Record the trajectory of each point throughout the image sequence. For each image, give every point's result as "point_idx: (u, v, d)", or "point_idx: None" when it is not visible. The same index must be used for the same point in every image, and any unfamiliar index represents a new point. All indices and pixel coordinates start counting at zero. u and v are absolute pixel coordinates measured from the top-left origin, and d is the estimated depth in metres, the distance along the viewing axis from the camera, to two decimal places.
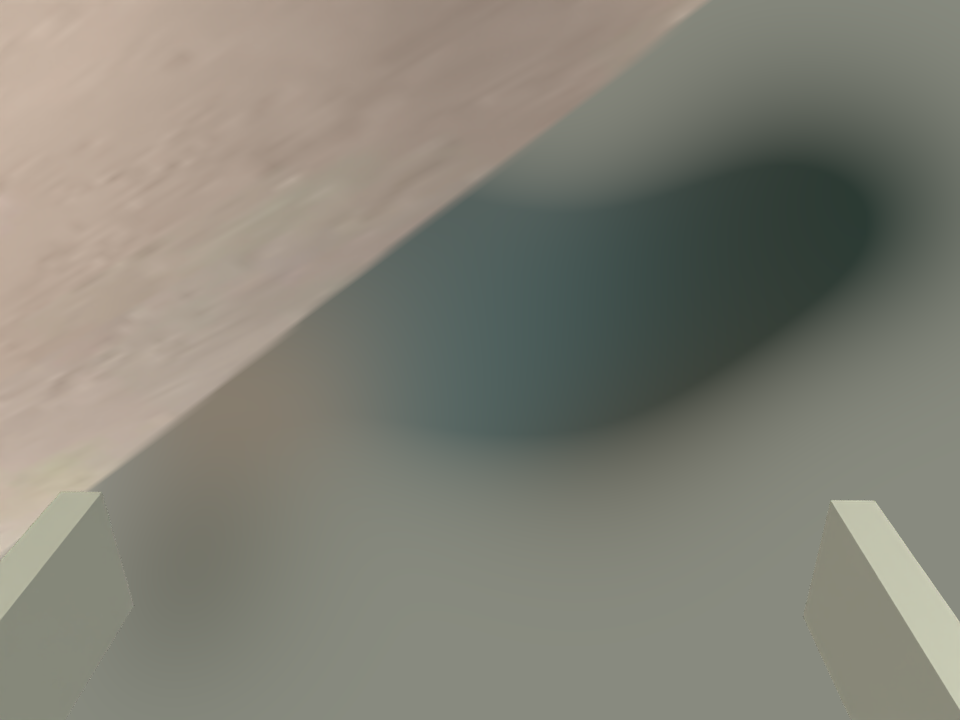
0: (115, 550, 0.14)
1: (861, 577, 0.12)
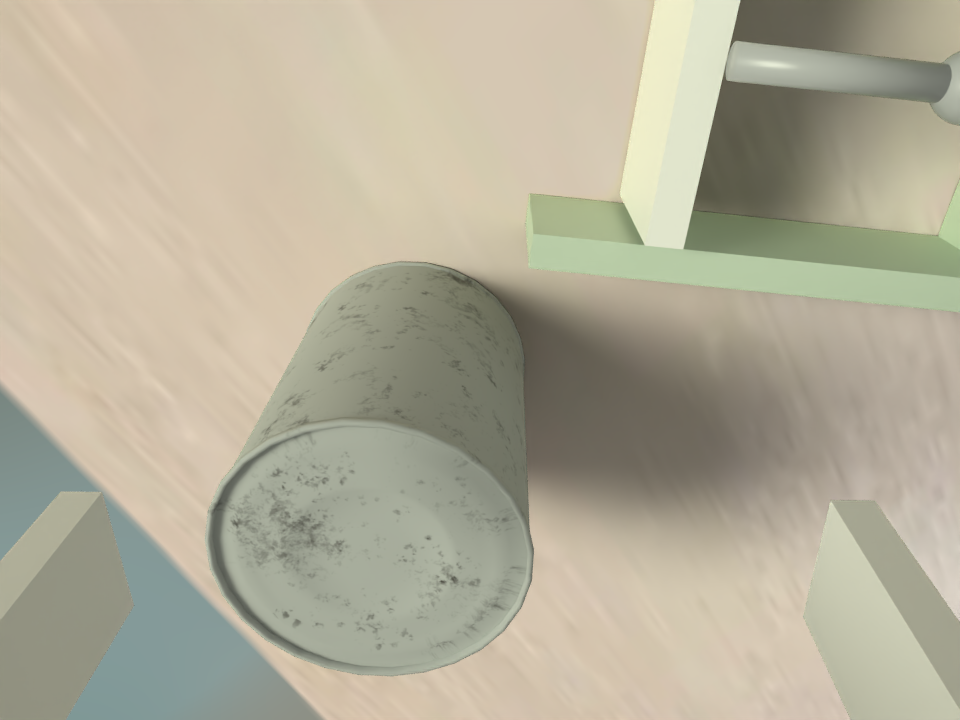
0: (115, 549, 0.14)
1: (861, 577, 0.12)
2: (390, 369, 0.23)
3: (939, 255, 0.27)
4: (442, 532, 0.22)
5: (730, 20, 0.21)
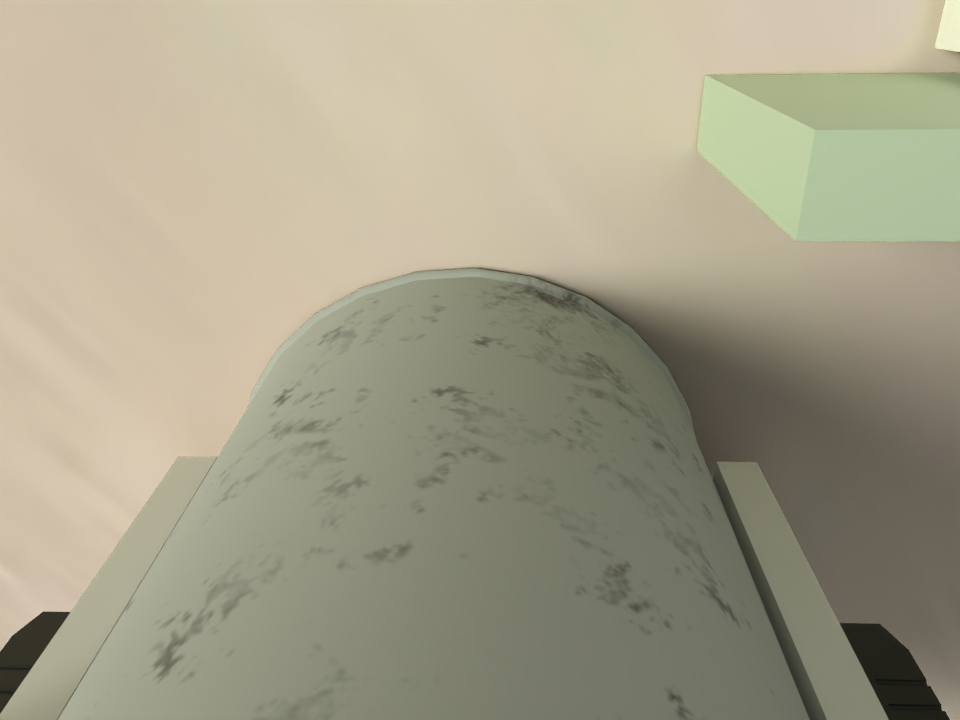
0: None
1: (735, 528, 0.13)
2: (399, 682, 0.06)
3: None
4: None
5: None
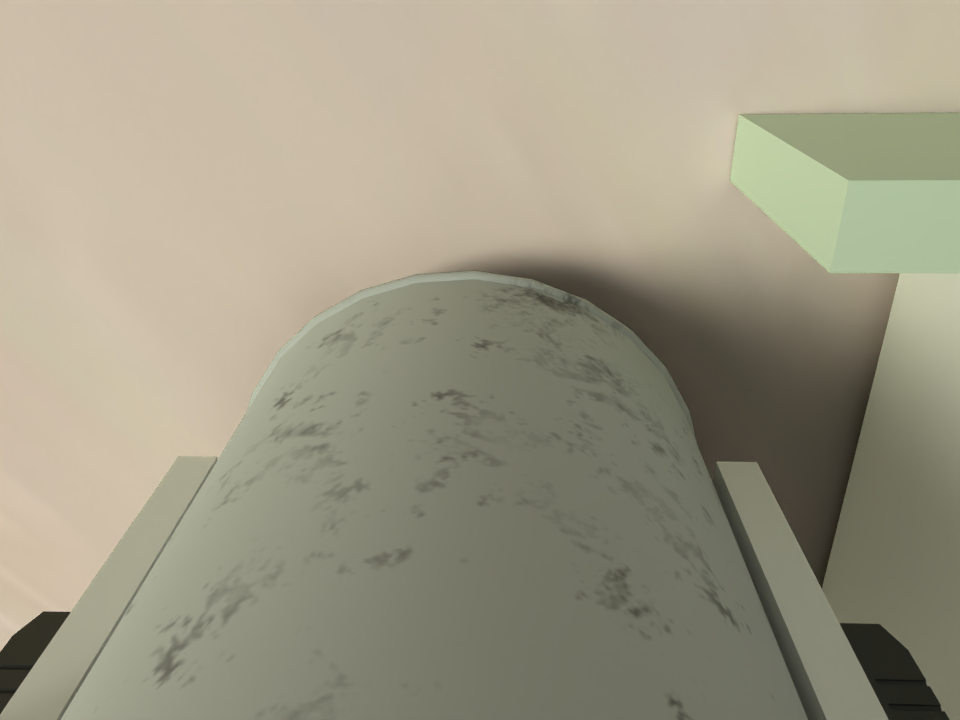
0: None
1: (734, 528, 0.13)
2: (400, 687, 0.06)
3: None
4: None
5: None
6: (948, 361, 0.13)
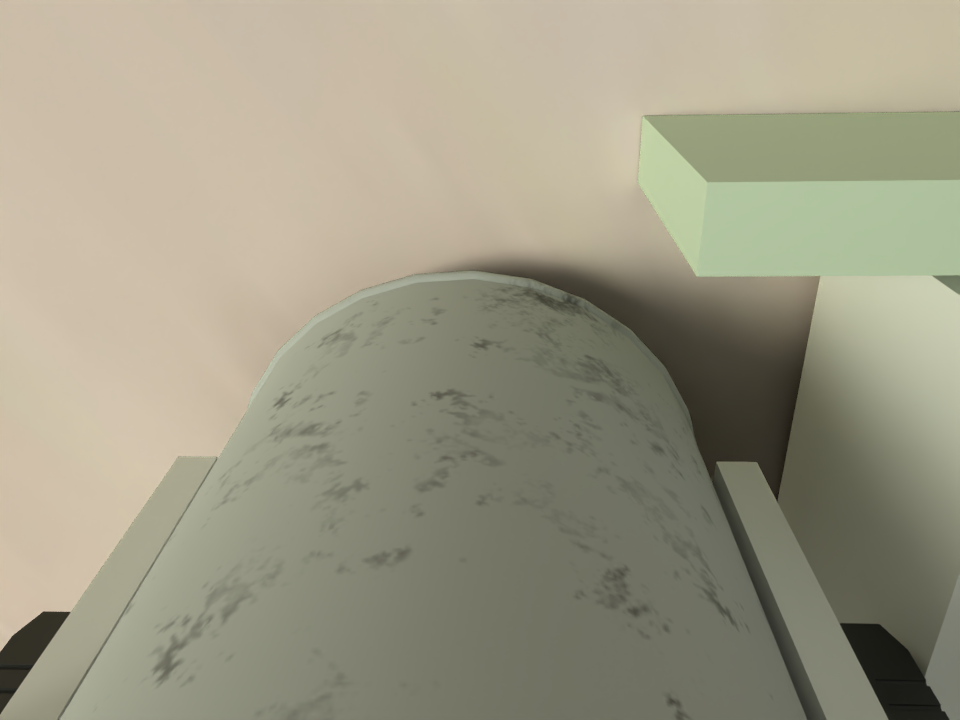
0: None
1: (734, 528, 0.13)
2: (398, 686, 0.06)
3: None
4: None
5: None
6: (859, 364, 0.13)
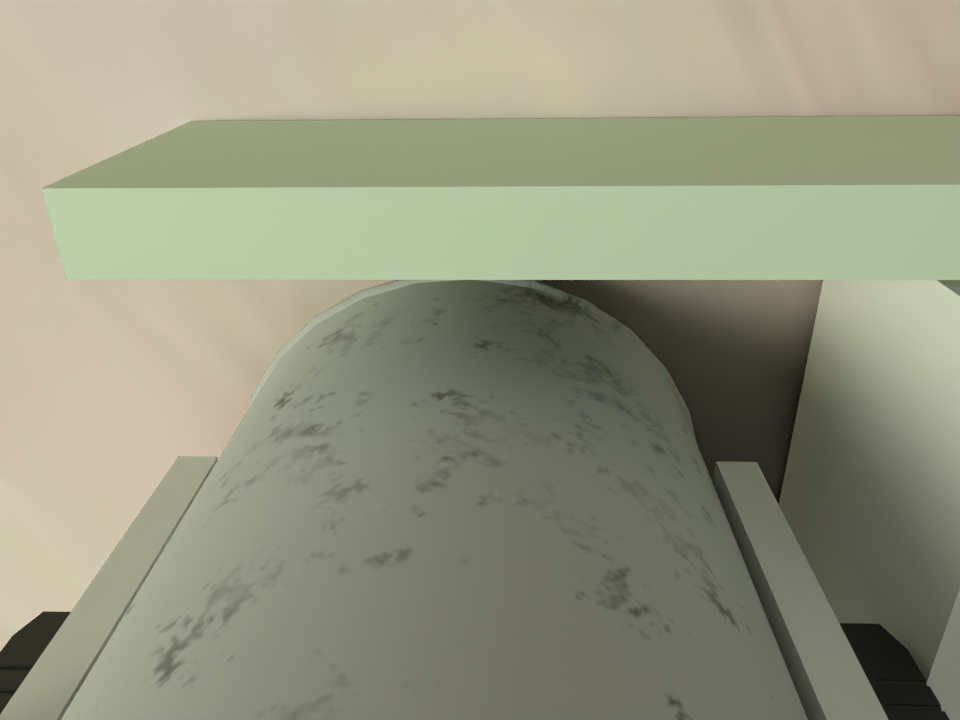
0: None
1: (734, 529, 0.13)
2: (399, 687, 0.06)
3: None
4: None
5: None
6: (863, 368, 0.13)
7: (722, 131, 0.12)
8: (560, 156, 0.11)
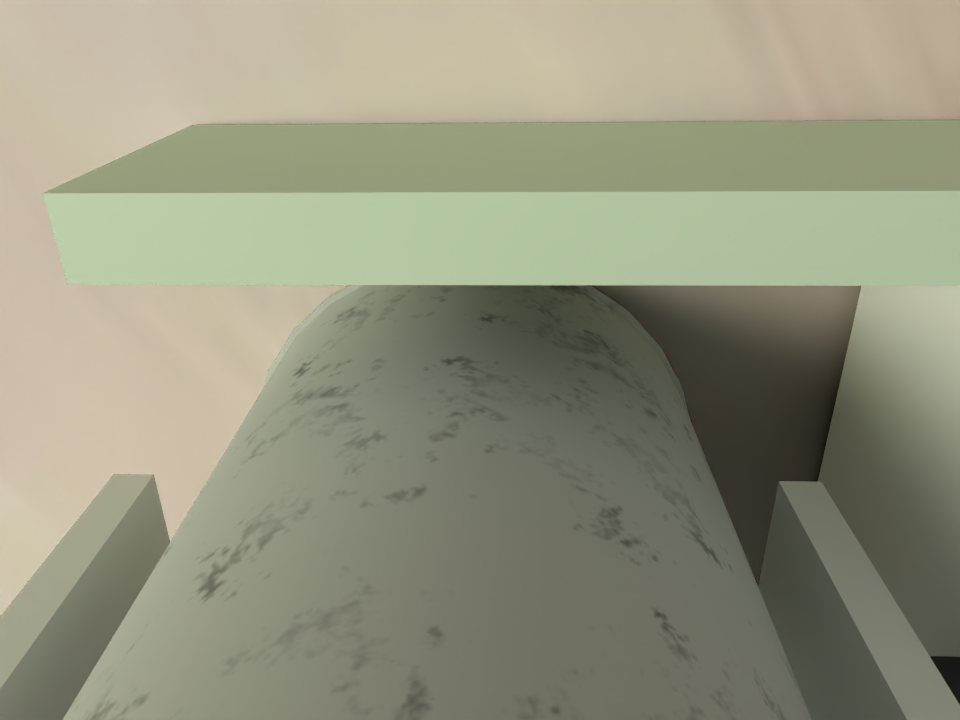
0: (164, 532, 0.15)
1: (803, 552, 0.13)
2: (418, 595, 0.07)
3: None
4: None
5: None
6: (906, 373, 0.13)
7: (723, 136, 0.12)
8: (561, 161, 0.11)
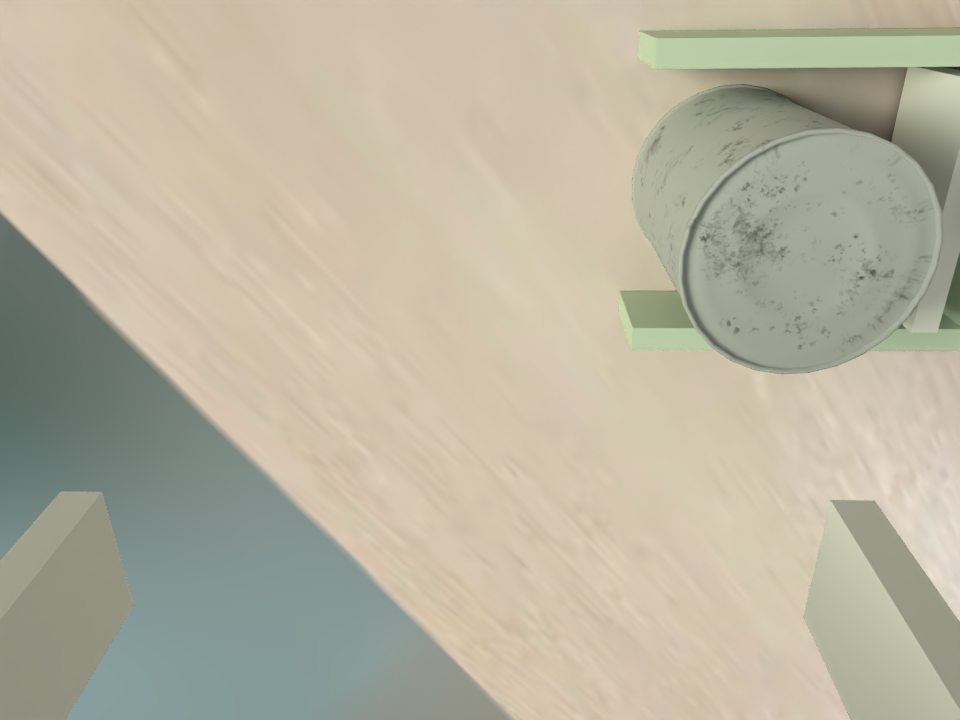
0: (115, 549, 0.14)
1: (861, 577, 0.12)
2: (802, 117, 0.29)
3: None
4: (868, 229, 0.28)
5: None
6: (919, 119, 0.35)
7: (848, 30, 0.35)
8: (801, 34, 0.33)
